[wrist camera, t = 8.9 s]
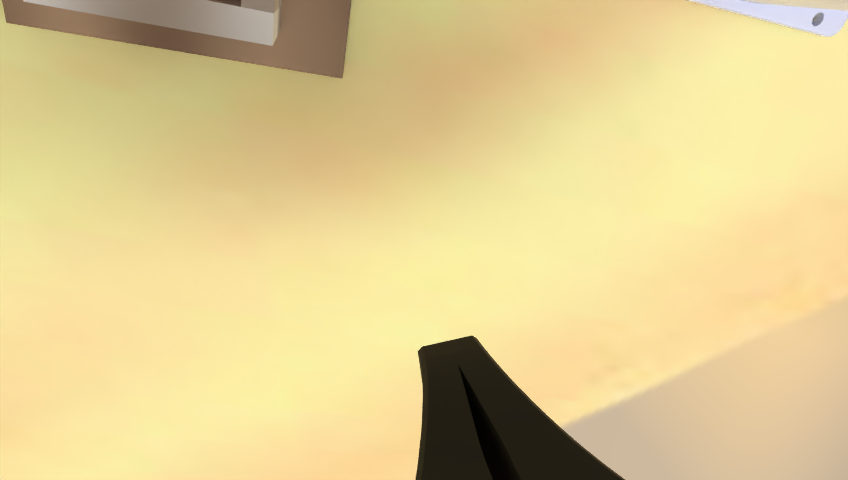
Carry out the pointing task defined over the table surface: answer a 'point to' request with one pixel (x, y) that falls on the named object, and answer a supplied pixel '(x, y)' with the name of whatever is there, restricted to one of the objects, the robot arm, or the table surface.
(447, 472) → the robot arm
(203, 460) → the table surface
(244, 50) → the board
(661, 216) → the table surface
